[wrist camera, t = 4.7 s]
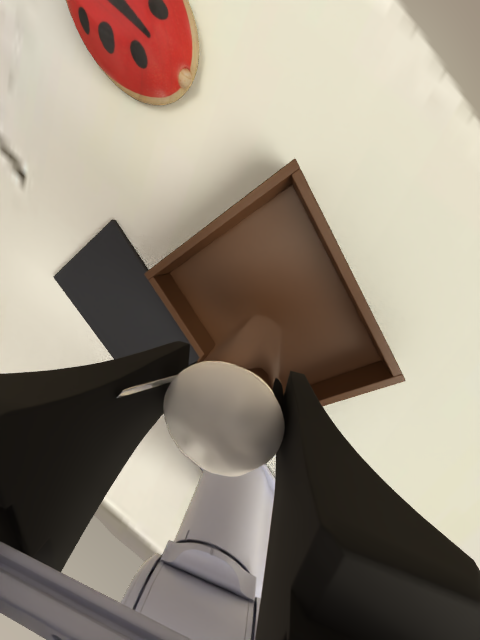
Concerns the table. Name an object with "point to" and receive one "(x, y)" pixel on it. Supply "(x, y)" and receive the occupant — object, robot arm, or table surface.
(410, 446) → the table surface
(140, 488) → the table surface
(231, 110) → the table surface
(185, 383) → the milkshake
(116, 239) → the mouse pad
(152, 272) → the tray
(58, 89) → the table surface
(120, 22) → the ladybug figurine
